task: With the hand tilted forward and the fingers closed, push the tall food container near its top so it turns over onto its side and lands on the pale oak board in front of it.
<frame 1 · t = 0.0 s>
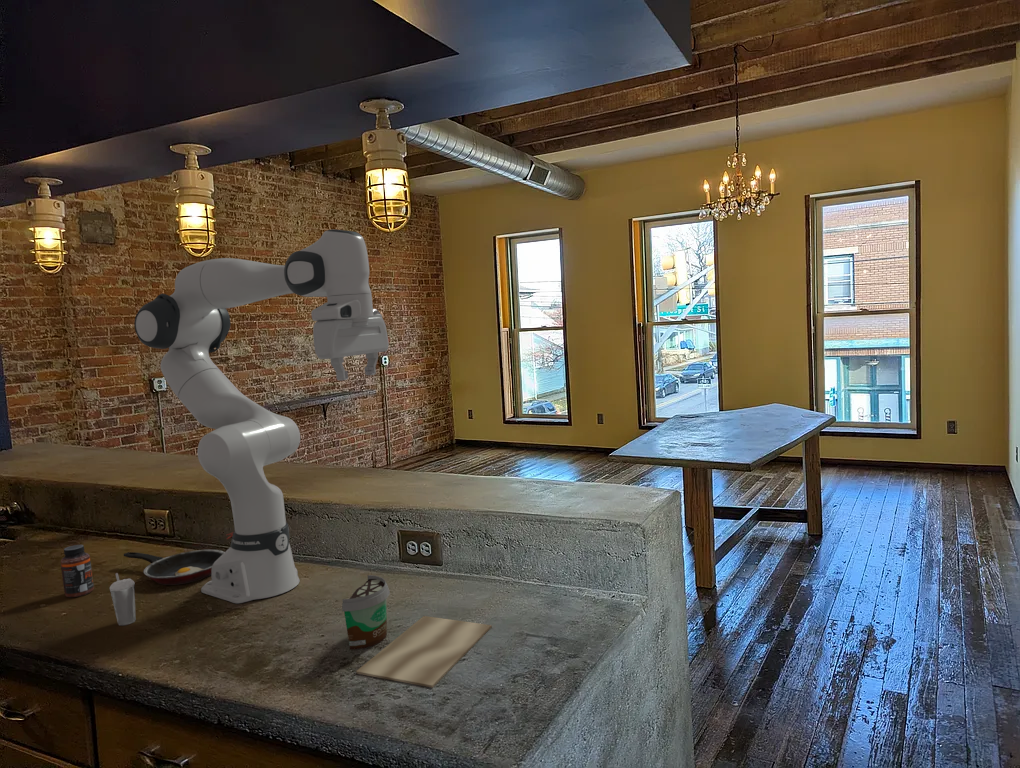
hand: (357, 377, 141), 48 cm above the worktop, tool pointing down, fingers open, 8 cm apart
oak board: (427, 649, 123), on the worktop
milkshake: (126, 622, 144), on the worktop
supplement bottle: (80, 594, 163), on the worktop
frying pan: (169, 572, 174), on the worktop
food container: (375, 639, 129), on the worktop
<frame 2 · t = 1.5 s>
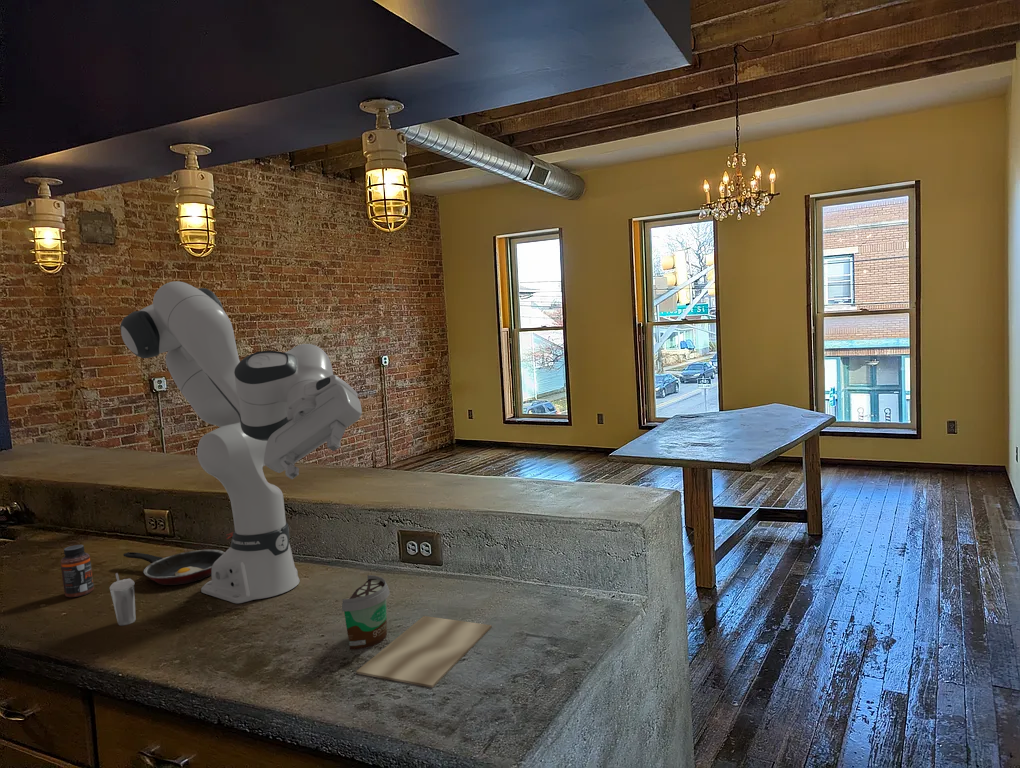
hand: (312, 461, 118), 36 cm above the worktop, tool tilted 55°, fingers open, 8 cm apart
nothing on the worktop moved.
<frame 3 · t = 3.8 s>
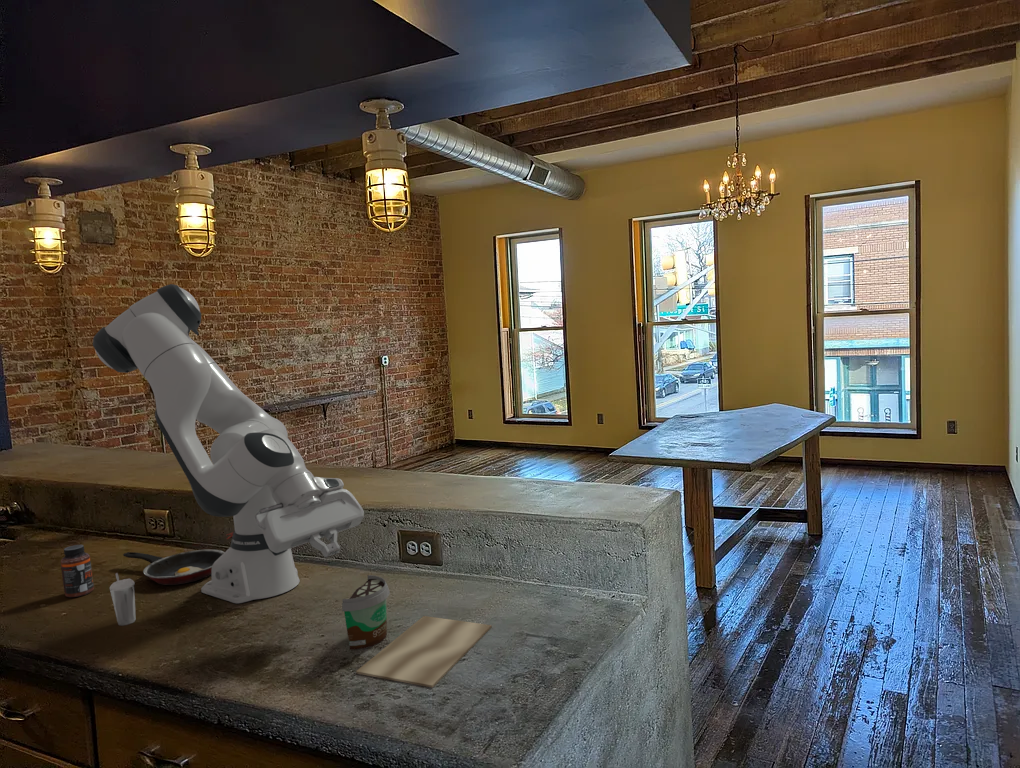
hand: (333, 553, 132), 15 cm above the worktop, tool tilted 45°, fingers closed
nothing on the worktop moved.
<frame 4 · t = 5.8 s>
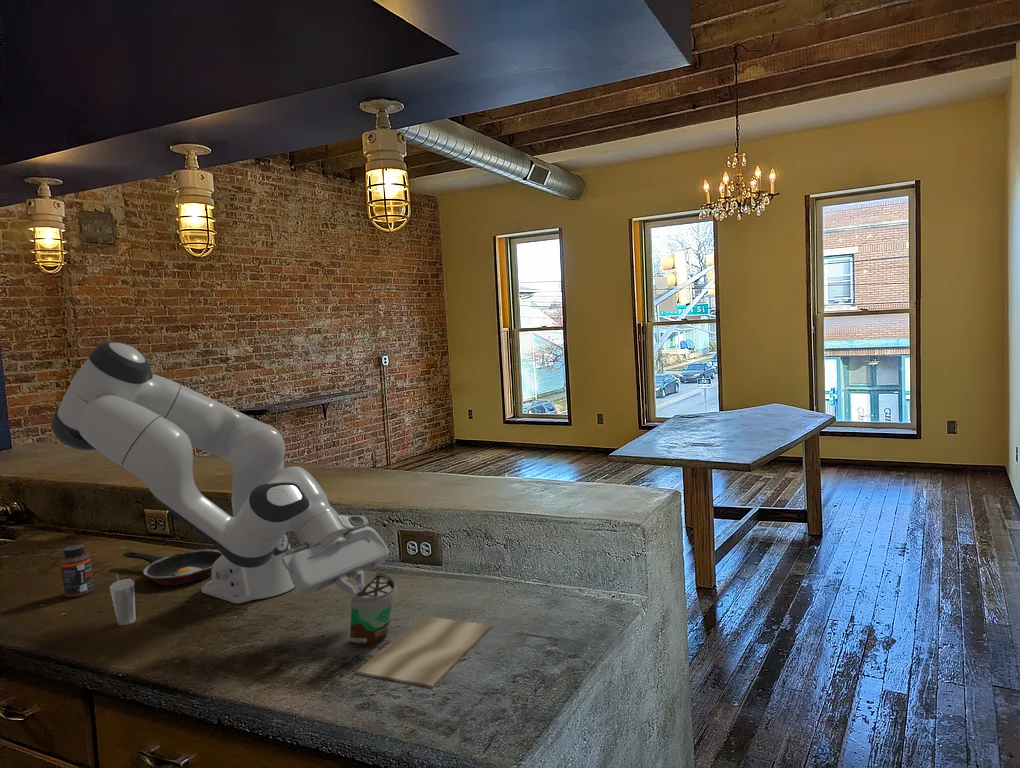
hand: (360, 595, 130), 8 cm above the worktop, tool tilted 45°, fingers closed
food container: (375, 637, 129), on the worktop, touching gripper
everything else where it was.
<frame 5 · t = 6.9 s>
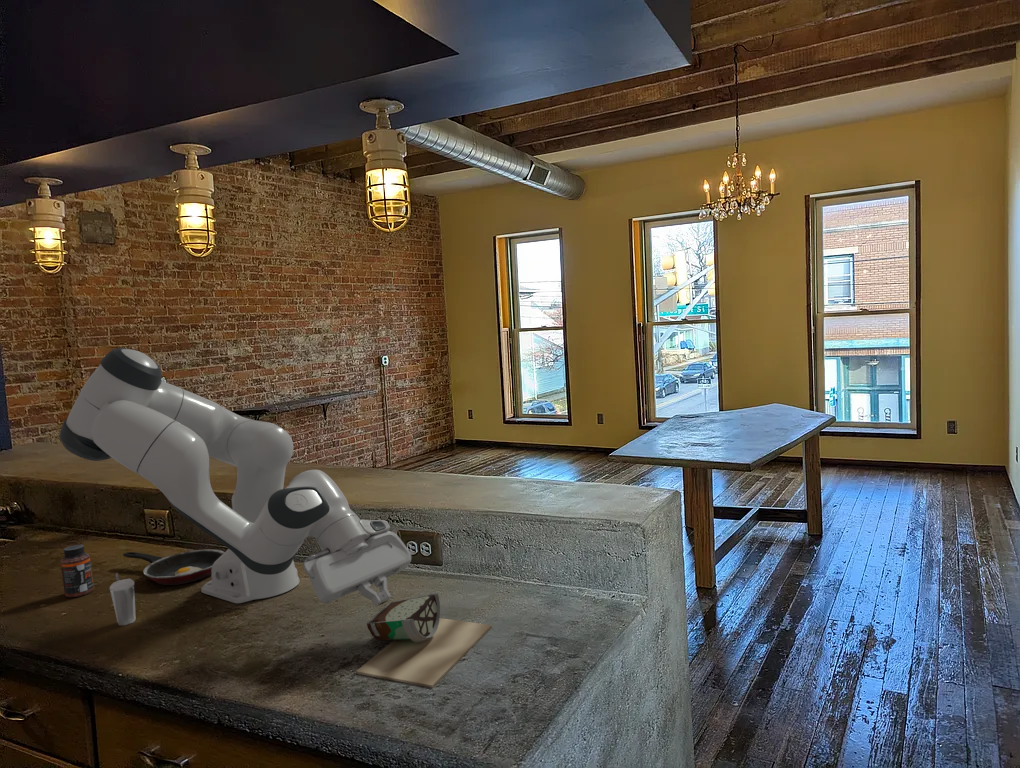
hand: (383, 602, 126), 8 cm above the worktop, tool tilted 45°, fingers closed
food container: (382, 628, 129), point 2 cm above the worktop, touching oak board
everything else where it was.
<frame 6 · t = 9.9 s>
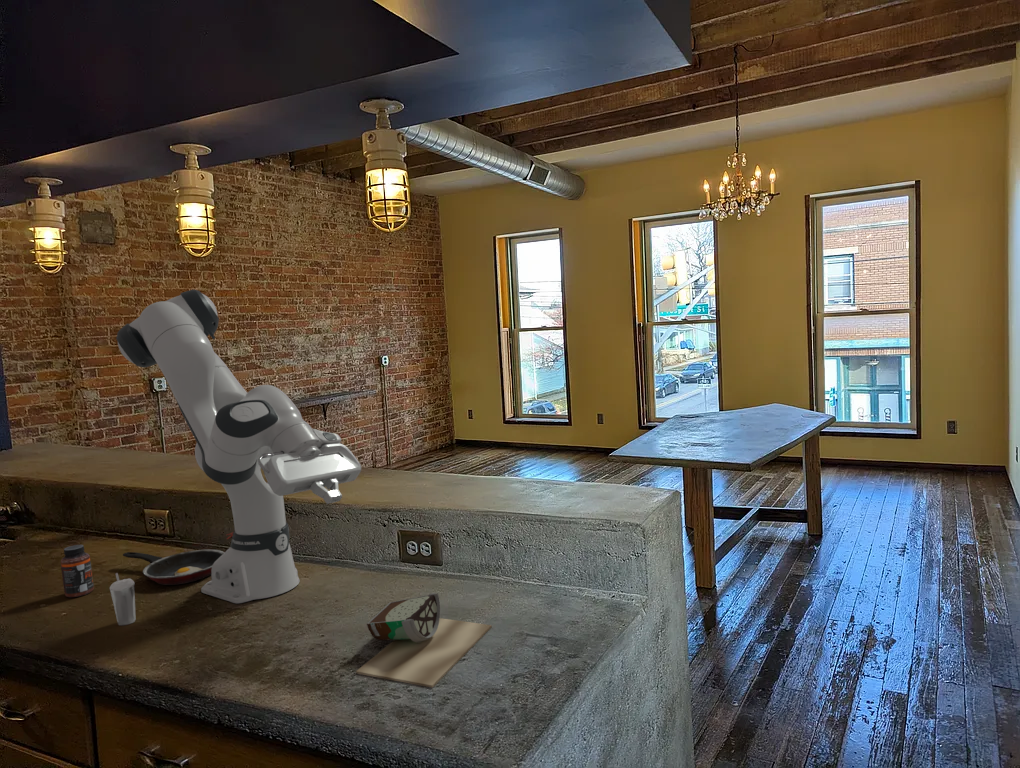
hand: (335, 500, 132), 25 cm above the worktop, tool tilted 45°, fingers closed
nothing on the worktop moved.
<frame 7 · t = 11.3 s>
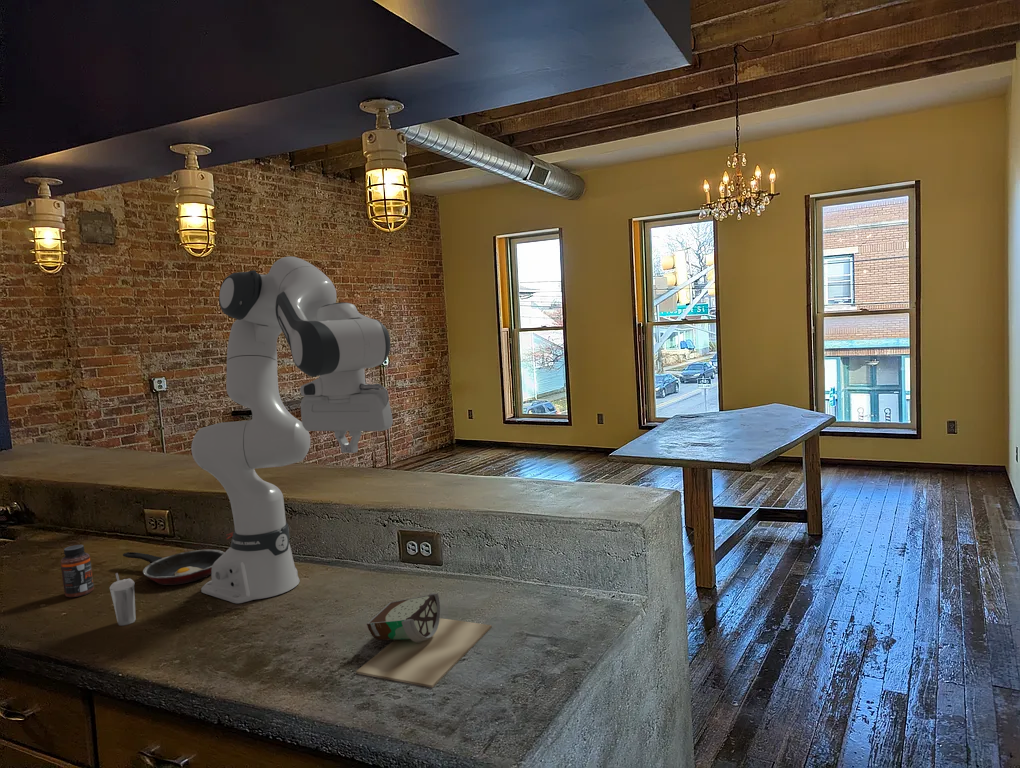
hand: (349, 452, 139), 33 cm above the worktop, tool pointing down, fingers closed
nothing on the worktop moved.
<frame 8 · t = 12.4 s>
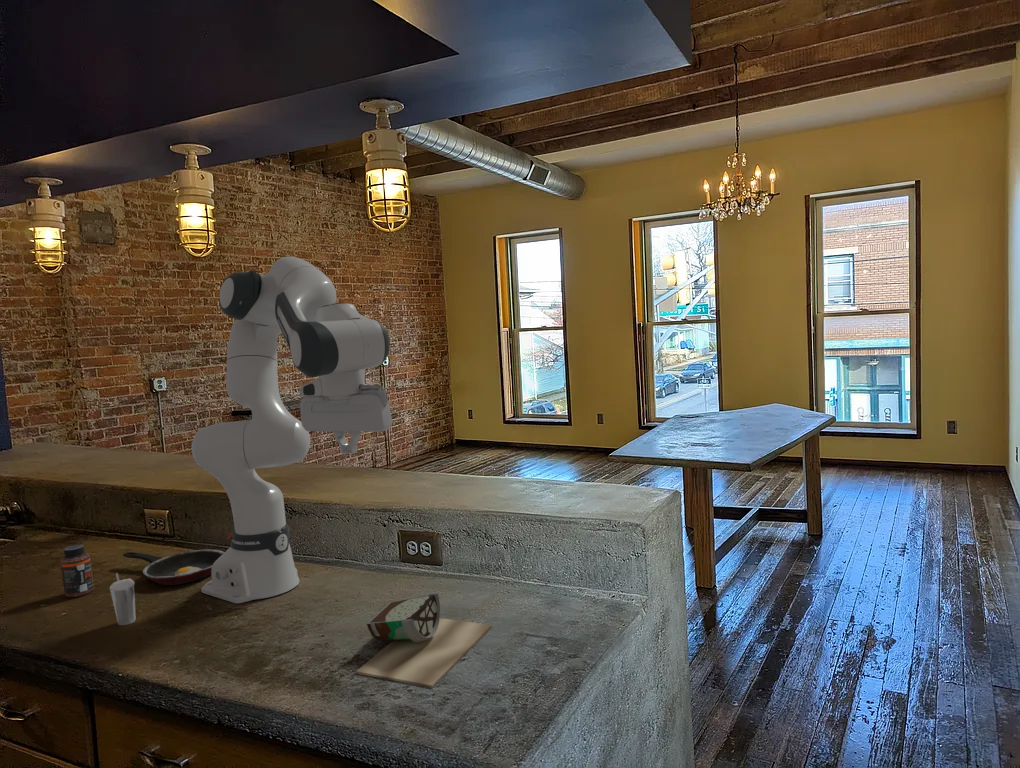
hand: (349, 452, 139), 33 cm above the worktop, tool pointing down, fingers closed
nothing on the worktop moved.
at the end: food container tilted 79°; food container touching oak board, worktop; the gripper is holding nothing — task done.
